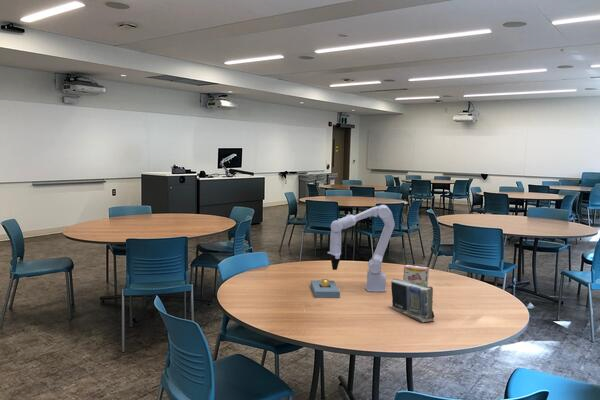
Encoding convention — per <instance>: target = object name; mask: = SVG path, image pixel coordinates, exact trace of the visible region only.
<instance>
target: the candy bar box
mask: <svg viewBox="0 0 600 400" xmlns="http://www.w3.org/2000/svg"><path fill="white" fill-rule="evenodd" d="M429 271H430V268H429V267H428V266H427V267H425V266H419V265H411V264H406V265H404V267H403V279H402V280H404V281H408V282H412V283H415V284H417V285H422V286H427V287H429Z"/></svg>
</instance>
